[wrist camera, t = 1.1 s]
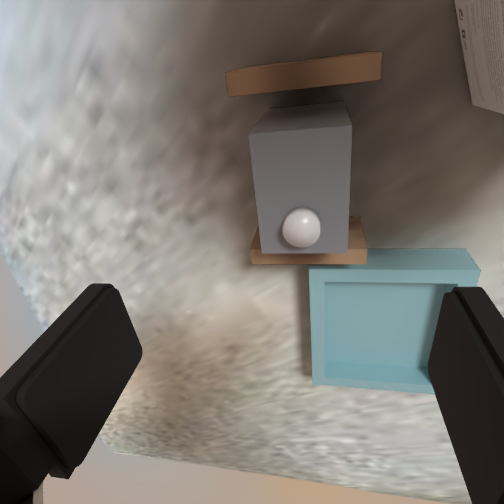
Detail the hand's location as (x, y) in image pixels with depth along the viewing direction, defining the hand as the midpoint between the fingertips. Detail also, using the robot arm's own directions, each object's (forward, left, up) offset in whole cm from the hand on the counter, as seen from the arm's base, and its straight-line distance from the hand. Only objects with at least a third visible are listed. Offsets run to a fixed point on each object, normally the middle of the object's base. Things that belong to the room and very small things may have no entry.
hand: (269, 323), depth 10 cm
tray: (-6, +15, -18) cm, 24 cm away
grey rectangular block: (0, 0, -18) cm, 18 cm away
